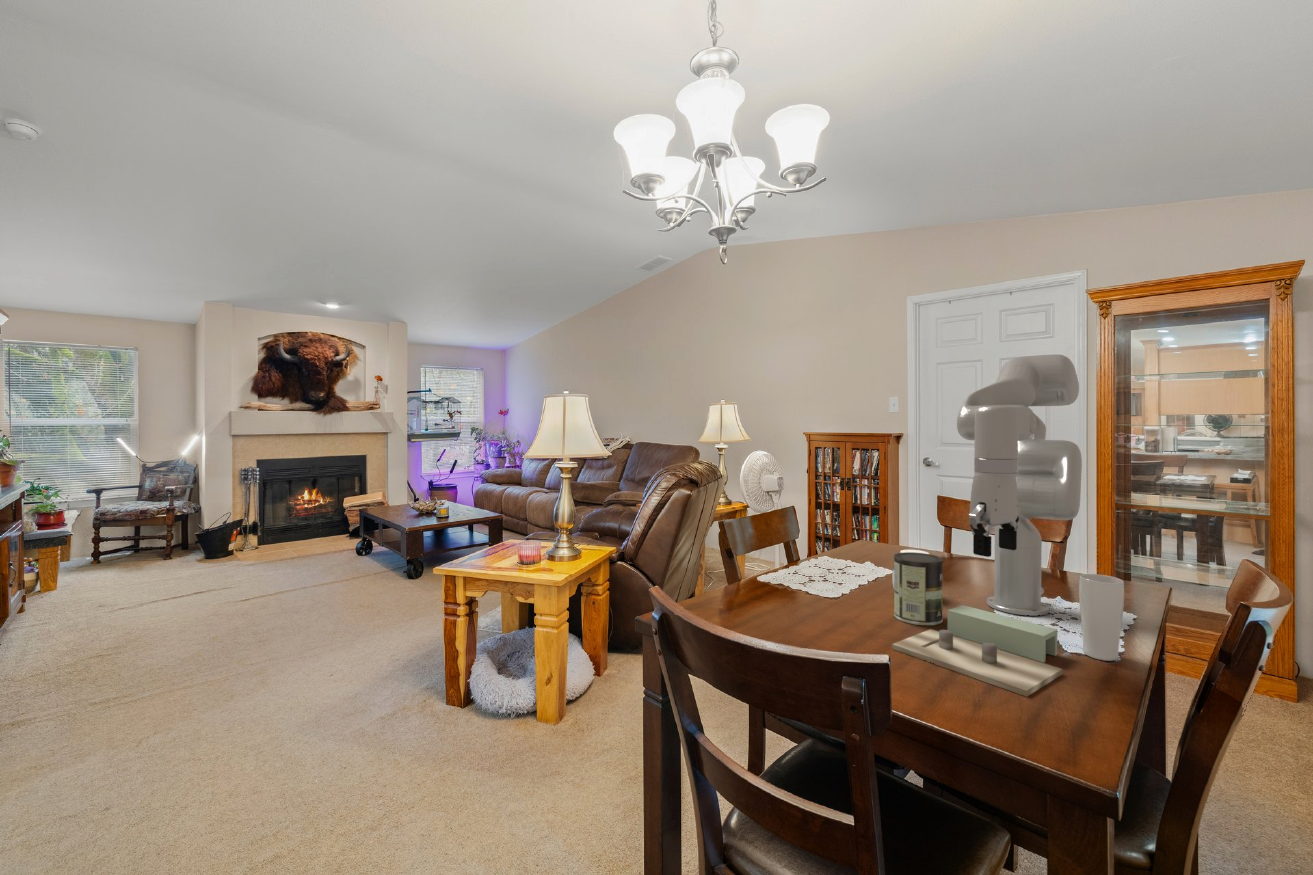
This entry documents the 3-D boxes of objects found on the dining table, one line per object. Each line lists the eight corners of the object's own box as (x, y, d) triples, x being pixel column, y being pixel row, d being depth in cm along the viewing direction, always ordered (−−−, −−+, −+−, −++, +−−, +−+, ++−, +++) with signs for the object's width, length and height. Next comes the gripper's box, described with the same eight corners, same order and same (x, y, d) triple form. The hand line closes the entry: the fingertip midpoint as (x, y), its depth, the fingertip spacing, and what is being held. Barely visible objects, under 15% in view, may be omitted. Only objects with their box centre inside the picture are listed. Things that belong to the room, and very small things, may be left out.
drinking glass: (1113, 651, 110) (1115, 575, 109) (1130, 665, 103) (1131, 584, 103) (1072, 647, 112) (1073, 572, 112) (1086, 660, 106) (1087, 581, 105)
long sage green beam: (961, 627, 123) (962, 604, 123) (1057, 654, 108) (1057, 629, 108) (947, 633, 120) (947, 610, 120) (1043, 662, 105) (1043, 636, 105)
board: (930, 633, 120) (930, 614, 120) (1061, 674, 100) (1062, 652, 100) (892, 648, 112) (892, 628, 112) (1026, 696, 92) (1026, 672, 92)
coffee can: (935, 612, 133) (935, 552, 133) (948, 627, 123) (949, 563, 123) (889, 609, 136) (889, 551, 135) (898, 624, 125) (899, 561, 125)
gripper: (998, 464, 121) (998, 543, 121) (953, 468, 112) (952, 554, 112) (1037, 466, 114) (1036, 549, 115) (992, 471, 105) (991, 562, 106)
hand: (995, 552), depth 113 cm, fingers open, 9 cm apart
